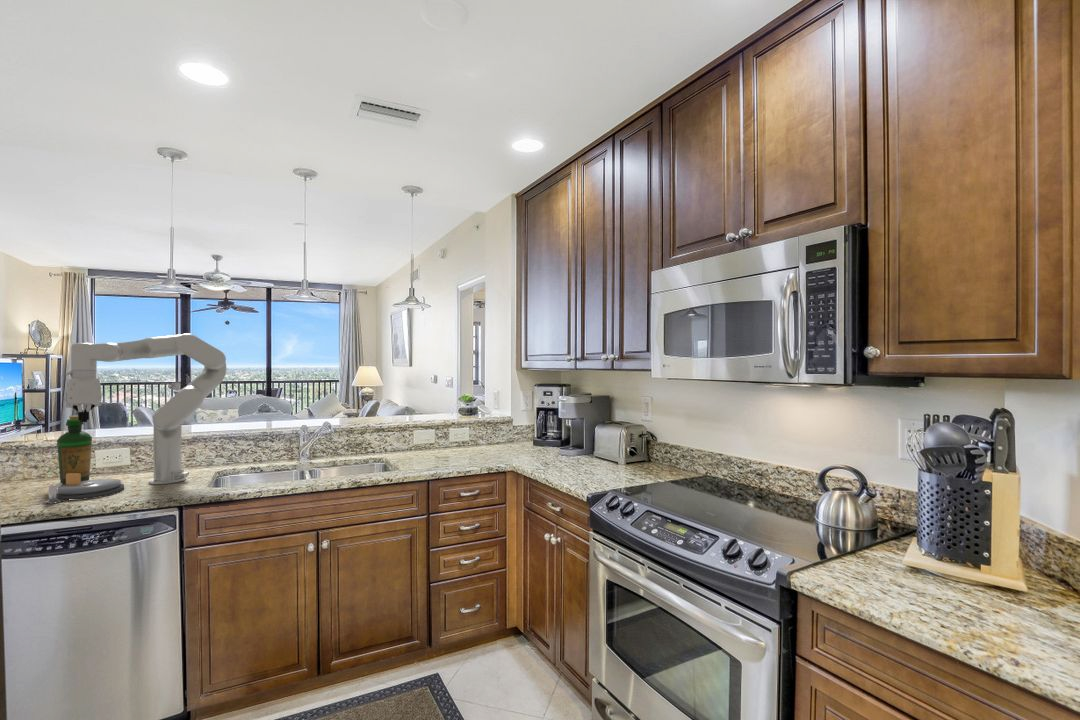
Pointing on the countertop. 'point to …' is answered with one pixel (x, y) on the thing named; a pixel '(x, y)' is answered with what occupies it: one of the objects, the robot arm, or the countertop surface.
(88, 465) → the bottle
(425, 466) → the countertop surface
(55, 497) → the capsule on square base
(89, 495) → the turntable base
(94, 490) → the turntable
